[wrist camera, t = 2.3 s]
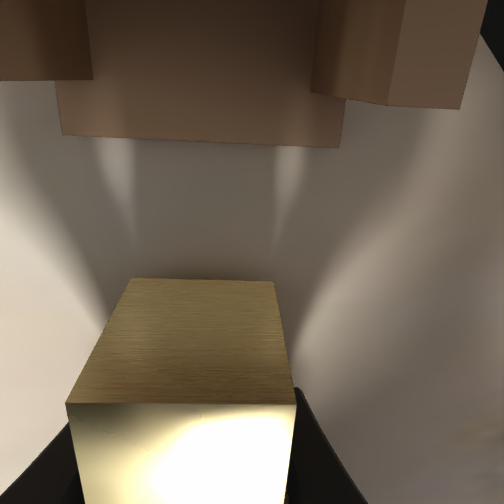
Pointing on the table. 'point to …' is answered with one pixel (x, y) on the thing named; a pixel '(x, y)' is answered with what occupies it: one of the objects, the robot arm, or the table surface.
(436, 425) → the table surface
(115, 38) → the socket
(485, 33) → the black recessed box
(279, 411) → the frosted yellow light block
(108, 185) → the table surface
